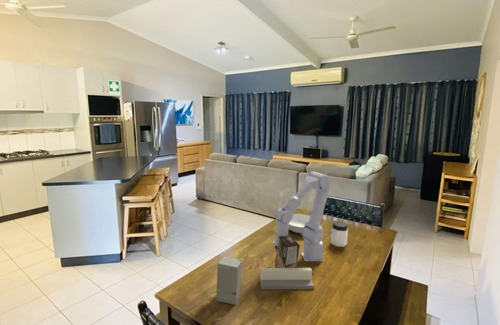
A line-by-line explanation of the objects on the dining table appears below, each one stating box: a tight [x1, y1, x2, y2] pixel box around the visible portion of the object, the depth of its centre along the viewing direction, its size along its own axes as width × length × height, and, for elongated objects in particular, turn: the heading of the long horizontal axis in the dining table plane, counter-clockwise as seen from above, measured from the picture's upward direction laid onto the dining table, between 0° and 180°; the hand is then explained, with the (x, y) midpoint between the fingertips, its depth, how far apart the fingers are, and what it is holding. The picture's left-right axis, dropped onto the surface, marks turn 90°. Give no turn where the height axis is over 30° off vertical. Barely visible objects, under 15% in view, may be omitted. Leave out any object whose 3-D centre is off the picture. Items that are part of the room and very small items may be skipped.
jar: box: [330, 220, 349, 248], centre depth 151 cm, size 9×8×12 cm
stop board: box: [259, 267, 315, 290], centre depth 114 cm, size 22×6×6 cm, turn 92°
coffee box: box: [274, 234, 301, 268], centre depth 121 cm, size 9×6×16 cm
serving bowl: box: [288, 213, 311, 234], centre depth 169 cm, size 21×21×7 cm
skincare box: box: [215, 255, 243, 306], centre depth 105 cm, size 8×7×16 cm
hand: (280, 260), depth 128 cm, fingers closed, pressing on coffee box
